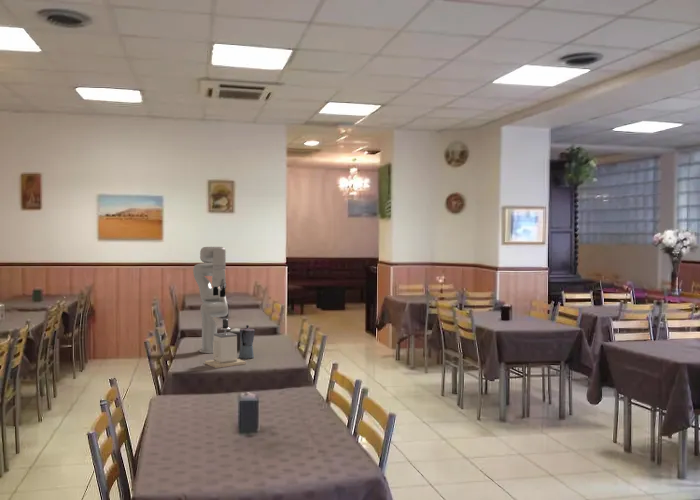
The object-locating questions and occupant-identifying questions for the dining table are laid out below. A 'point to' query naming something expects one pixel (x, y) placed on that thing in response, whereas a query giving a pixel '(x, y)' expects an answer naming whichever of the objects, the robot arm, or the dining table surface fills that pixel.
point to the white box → (225, 351)
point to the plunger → (225, 326)
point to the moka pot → (246, 343)
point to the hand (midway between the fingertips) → (219, 296)
